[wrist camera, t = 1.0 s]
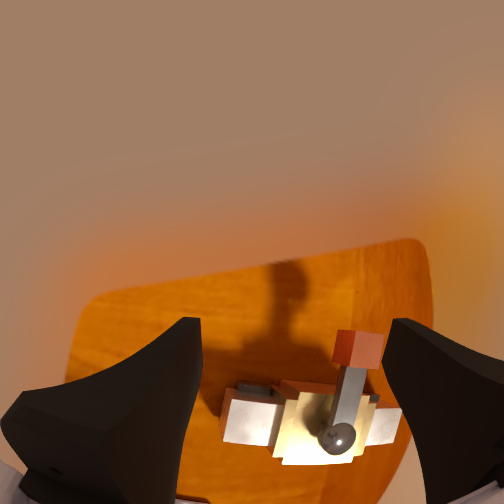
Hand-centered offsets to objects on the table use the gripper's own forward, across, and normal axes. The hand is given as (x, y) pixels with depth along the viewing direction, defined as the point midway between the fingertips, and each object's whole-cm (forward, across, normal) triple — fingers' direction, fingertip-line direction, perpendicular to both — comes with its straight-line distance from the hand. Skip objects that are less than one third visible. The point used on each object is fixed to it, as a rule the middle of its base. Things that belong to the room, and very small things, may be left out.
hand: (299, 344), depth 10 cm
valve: (+8, -3, +13) cm, 15 cm away
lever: (+6, -4, +8) cm, 11 cm away
